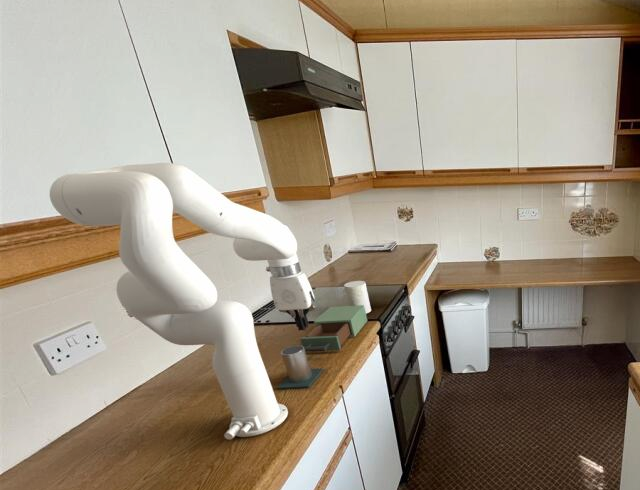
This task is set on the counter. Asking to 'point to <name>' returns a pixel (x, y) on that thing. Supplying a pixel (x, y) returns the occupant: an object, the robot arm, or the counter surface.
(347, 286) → the cup
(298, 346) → the metallic grey cylinder
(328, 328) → the drawer
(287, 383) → the mat
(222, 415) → the counter surface
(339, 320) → the cabinet
